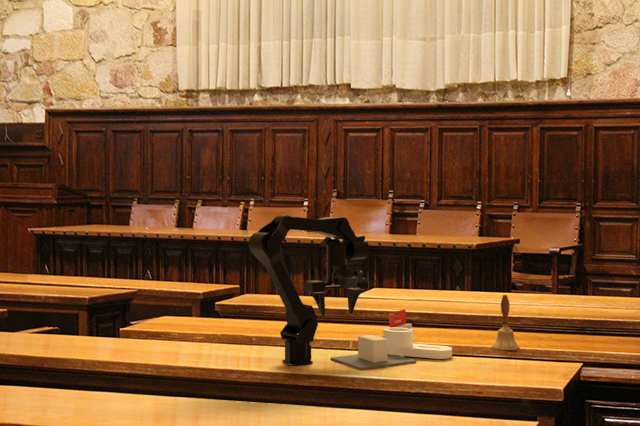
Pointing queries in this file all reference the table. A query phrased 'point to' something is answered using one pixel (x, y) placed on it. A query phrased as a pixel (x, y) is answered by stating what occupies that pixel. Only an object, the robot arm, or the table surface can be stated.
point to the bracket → (412, 345)
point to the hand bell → (505, 330)
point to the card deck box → (372, 348)
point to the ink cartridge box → (398, 320)
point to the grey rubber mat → (365, 364)
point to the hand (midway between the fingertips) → (337, 314)
